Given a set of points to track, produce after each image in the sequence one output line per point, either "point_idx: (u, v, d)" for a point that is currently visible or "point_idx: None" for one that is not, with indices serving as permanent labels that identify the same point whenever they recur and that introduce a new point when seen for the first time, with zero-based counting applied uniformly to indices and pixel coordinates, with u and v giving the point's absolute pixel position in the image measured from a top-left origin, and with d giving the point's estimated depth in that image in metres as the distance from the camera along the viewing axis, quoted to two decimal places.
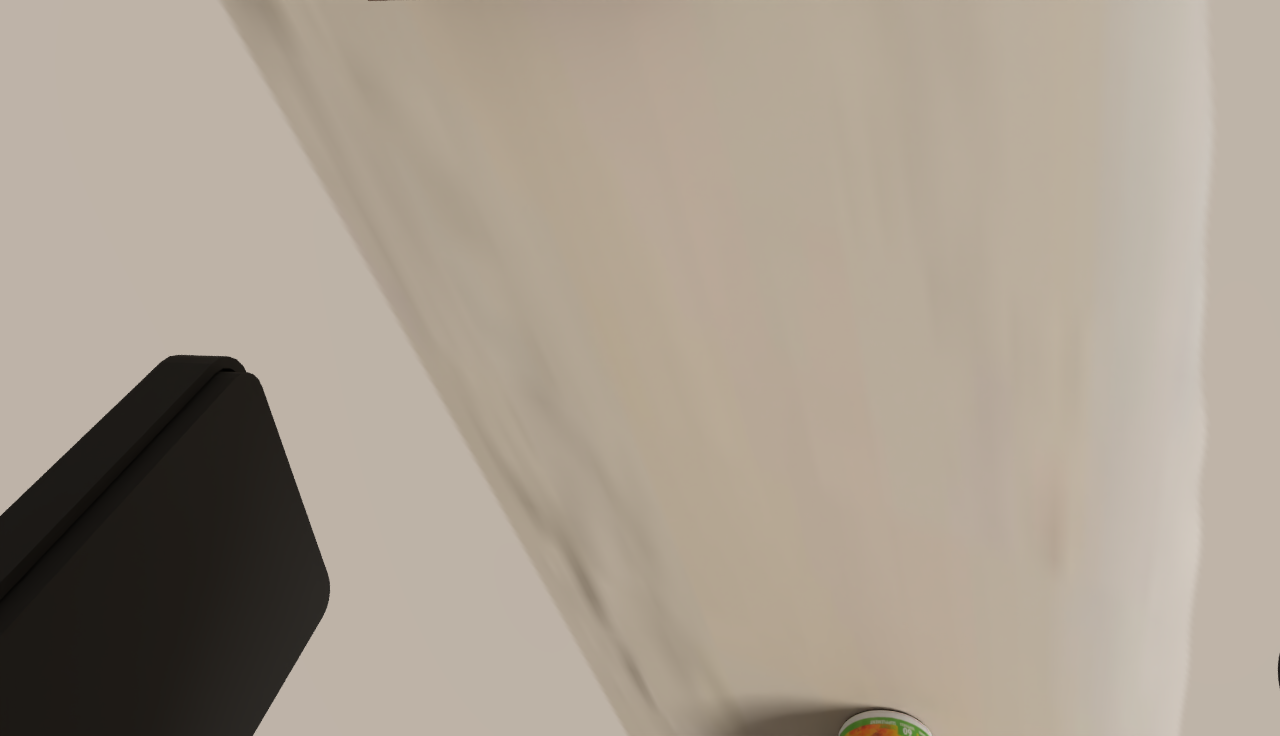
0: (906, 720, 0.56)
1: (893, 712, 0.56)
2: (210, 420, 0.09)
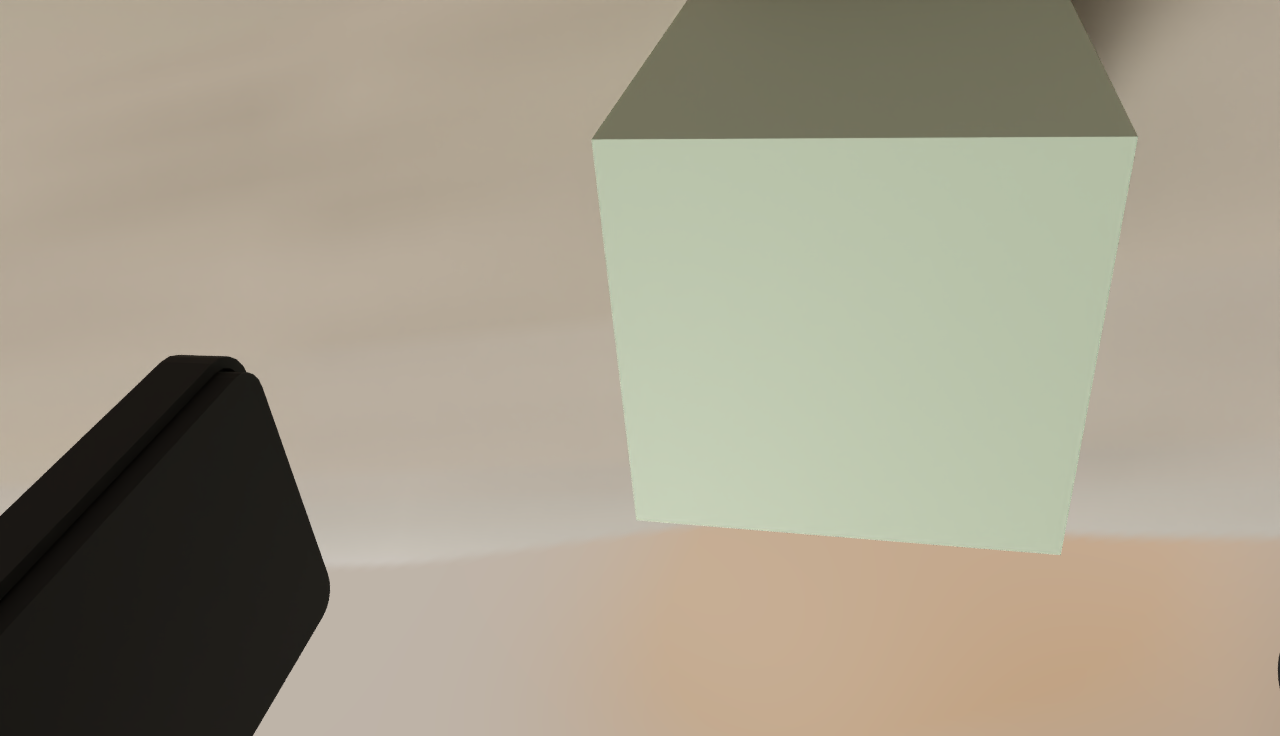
0: None
1: None
2: (210, 420, 0.09)
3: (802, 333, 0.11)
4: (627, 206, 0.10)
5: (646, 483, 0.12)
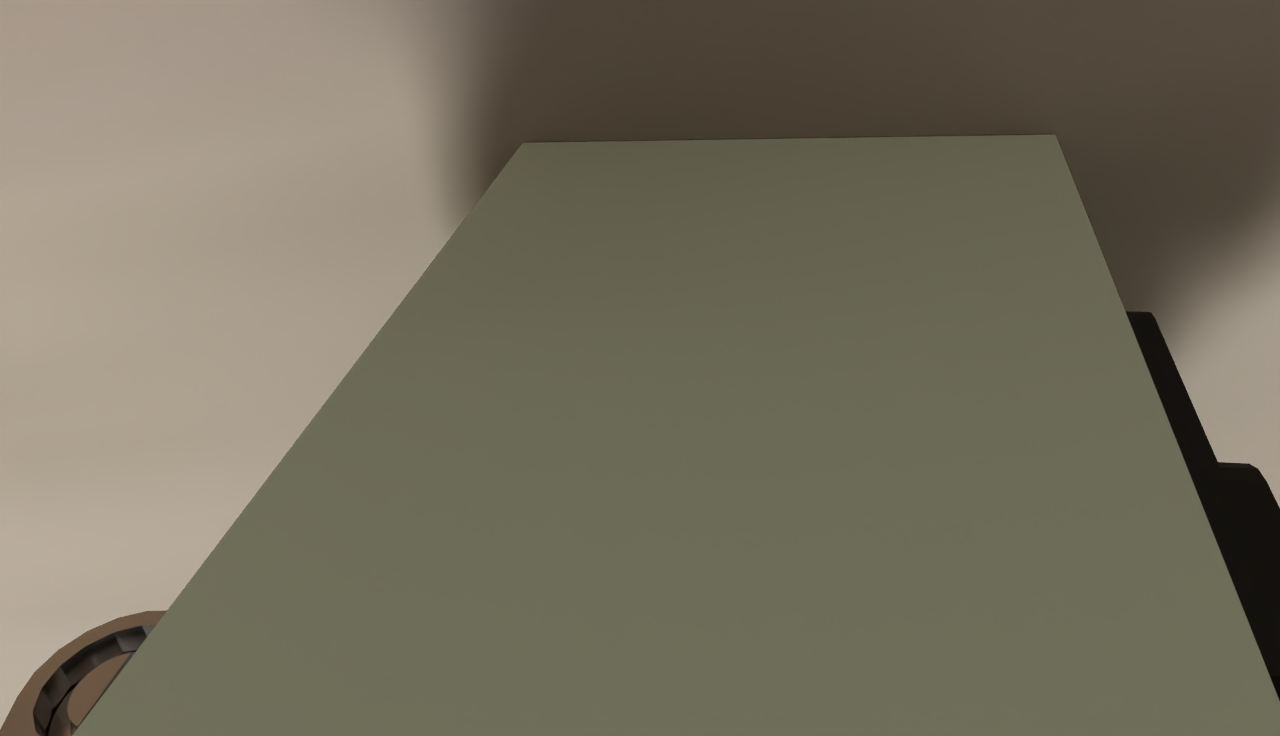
0: None
1: None
2: None
3: None
4: None
5: None
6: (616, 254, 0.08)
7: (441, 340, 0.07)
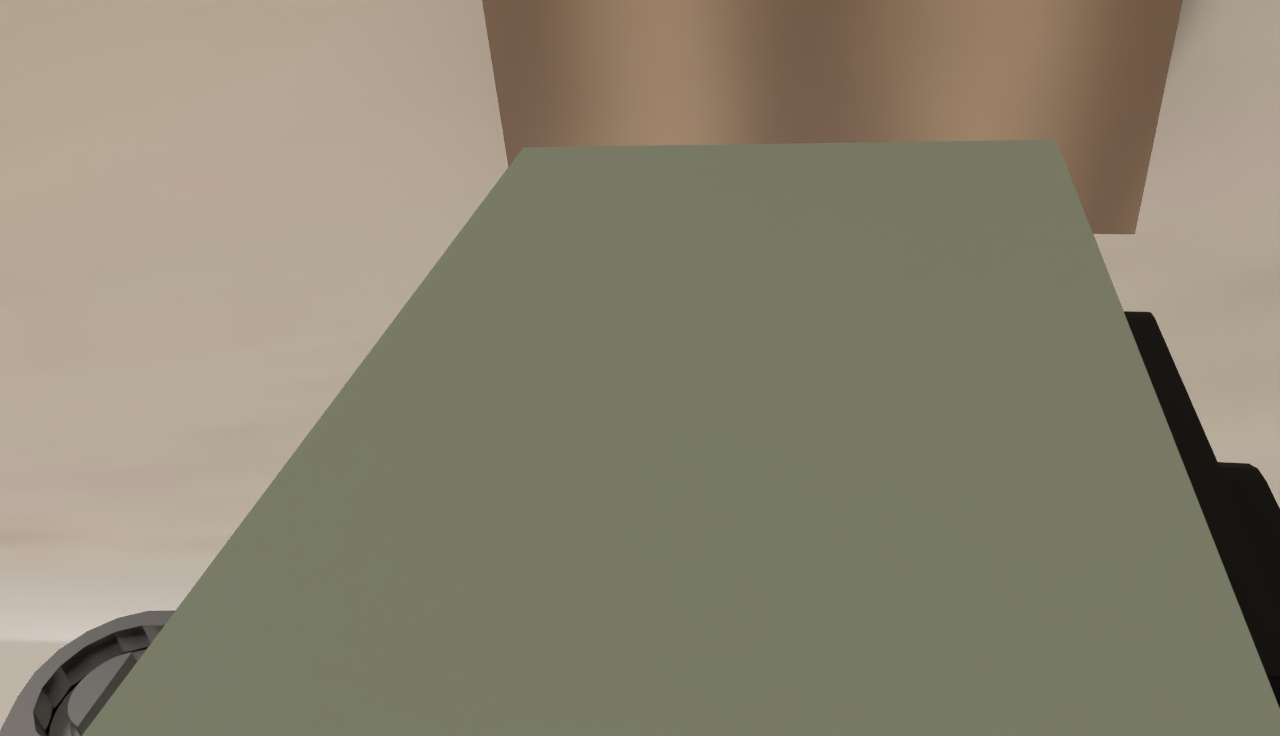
0: None
1: None
2: None
3: None
4: None
5: None
6: (616, 259, 0.08)
7: (442, 347, 0.07)
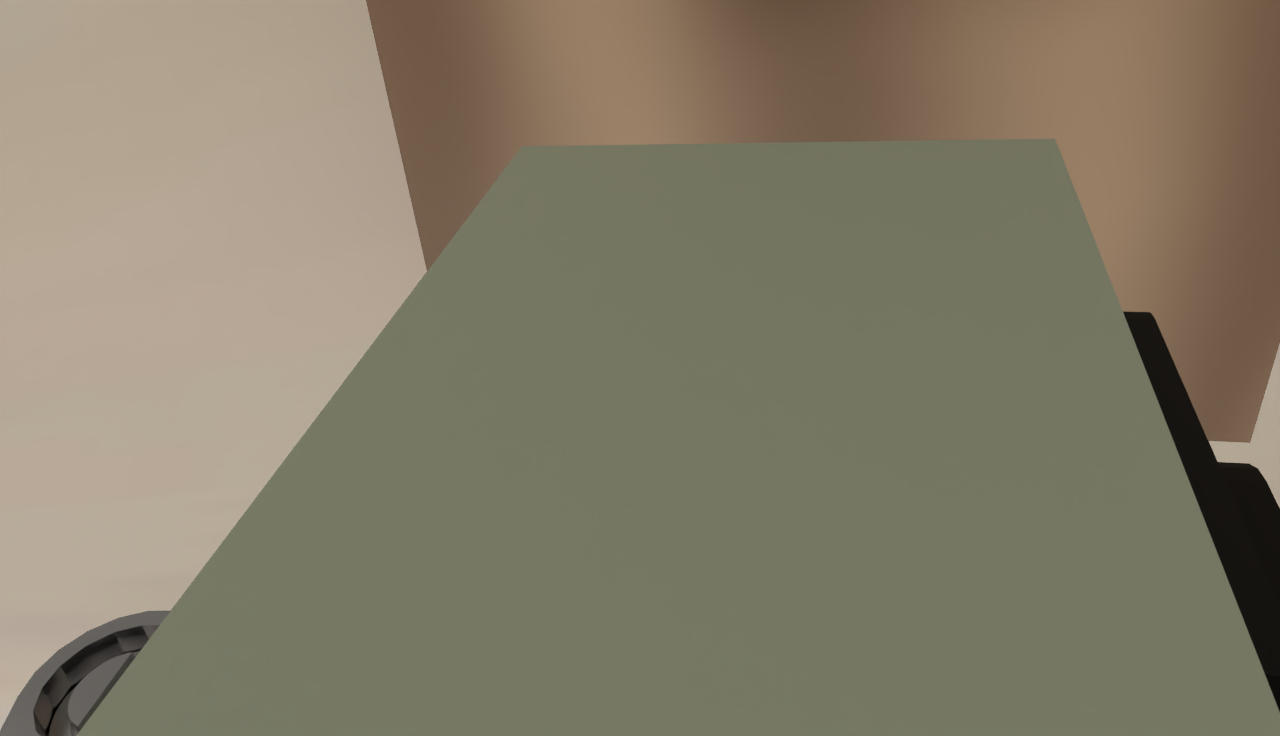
0: None
1: None
2: None
3: None
4: None
5: None
6: (614, 258, 0.08)
7: (439, 346, 0.07)
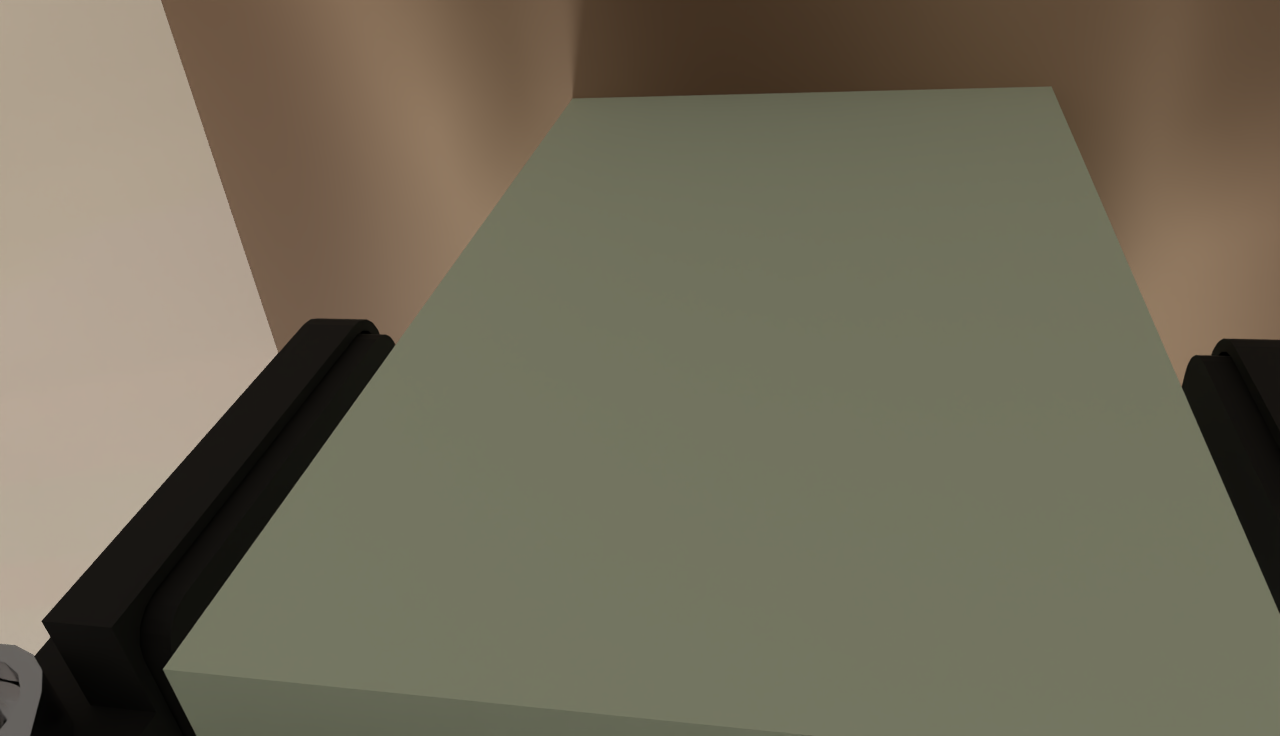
0: None
1: None
2: (358, 378, 0.09)
3: None
4: None
5: None
6: (667, 185, 0.09)
7: (521, 252, 0.08)
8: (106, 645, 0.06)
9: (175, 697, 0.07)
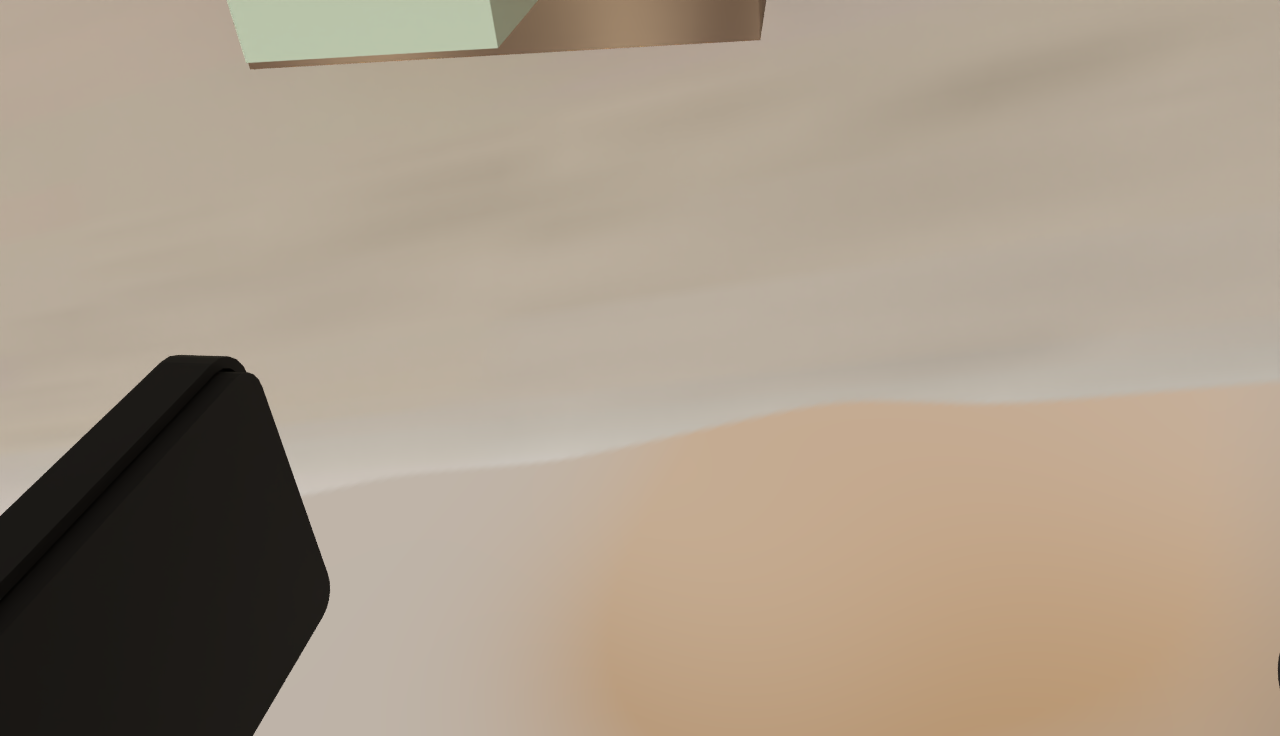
0: None
1: None
2: (210, 420, 0.09)
3: None
4: None
5: (245, 29, 0.19)
6: None
7: None
8: None
9: None
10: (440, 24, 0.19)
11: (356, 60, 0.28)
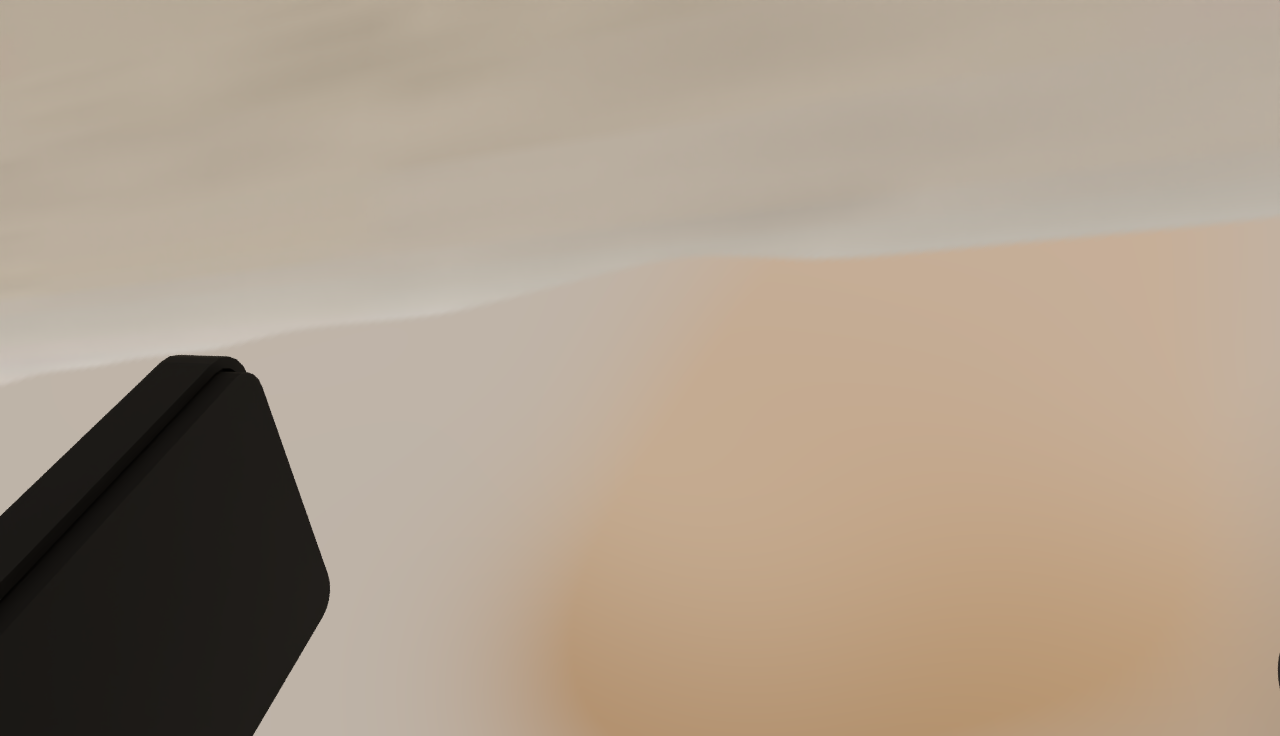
0: None
1: None
2: (210, 420, 0.09)
3: None
4: None
5: None
6: None
7: None
8: None
9: None
10: None
11: None
